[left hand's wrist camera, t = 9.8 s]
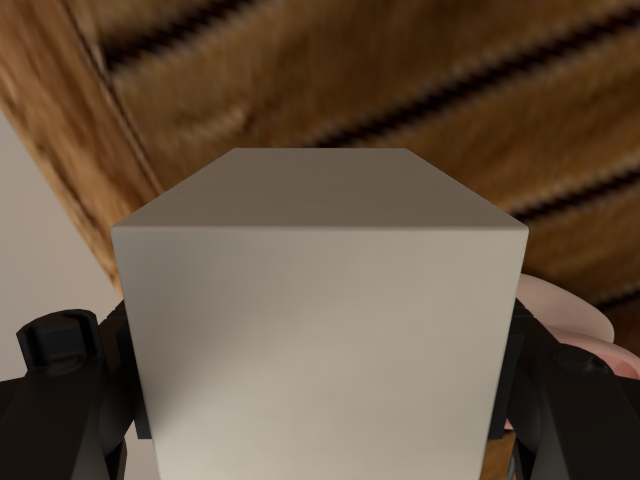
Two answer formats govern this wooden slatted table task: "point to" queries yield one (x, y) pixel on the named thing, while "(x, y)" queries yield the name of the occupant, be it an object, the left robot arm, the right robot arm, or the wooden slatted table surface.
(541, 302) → the anatomical model
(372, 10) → the wooden slatted table surface
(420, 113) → the wooden slatted table surface
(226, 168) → the block
